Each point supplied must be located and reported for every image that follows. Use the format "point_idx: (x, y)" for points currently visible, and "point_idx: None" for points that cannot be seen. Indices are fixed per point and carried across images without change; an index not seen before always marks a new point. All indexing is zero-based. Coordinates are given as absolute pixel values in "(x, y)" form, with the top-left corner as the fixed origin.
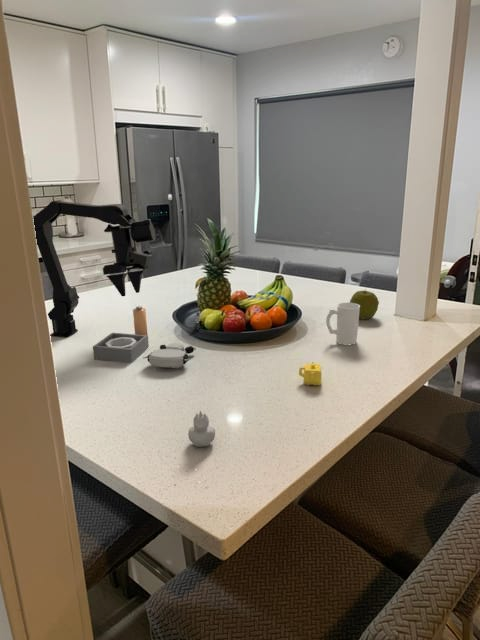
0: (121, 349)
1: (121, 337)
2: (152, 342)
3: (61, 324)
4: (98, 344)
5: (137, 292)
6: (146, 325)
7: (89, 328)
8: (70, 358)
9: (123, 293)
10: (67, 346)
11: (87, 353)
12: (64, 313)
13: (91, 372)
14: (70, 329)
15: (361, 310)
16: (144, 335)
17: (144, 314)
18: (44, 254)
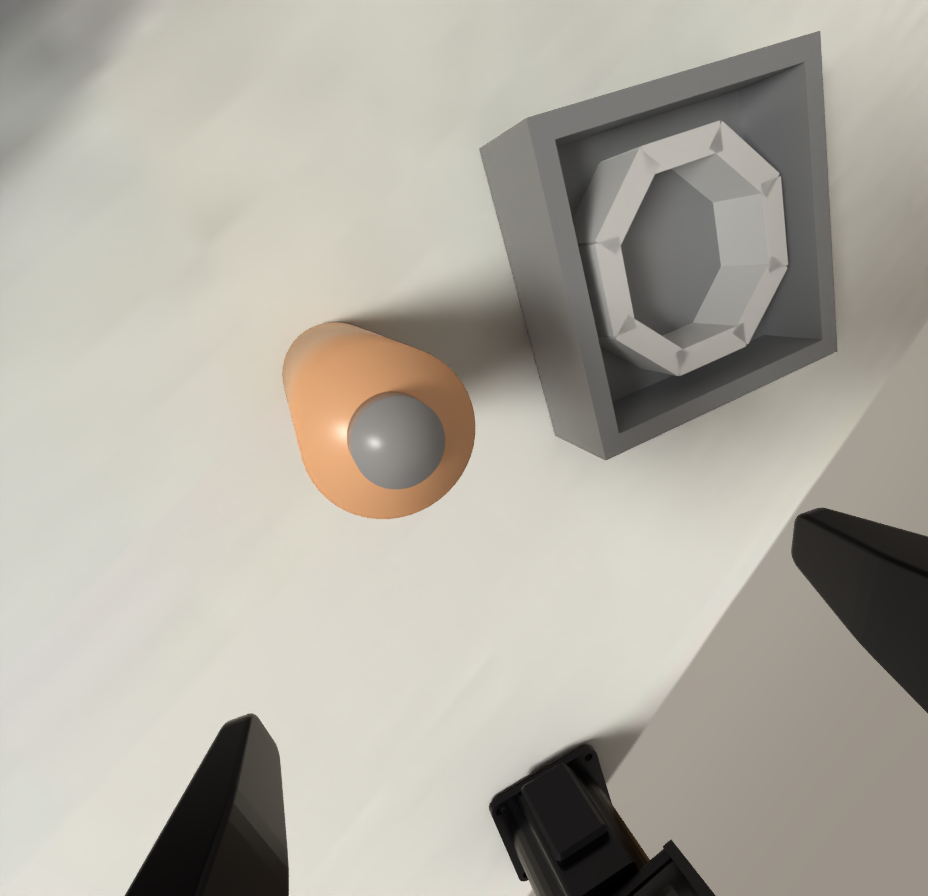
0: (822, 121)
1: (623, 336)
2: (376, 199)
3: (632, 835)
4: (801, 349)
5: (265, 731)
6: (324, 335)
7: (415, 802)
8: (784, 462)
9: (875, 535)
10: (678, 620)
11: (712, 447)
12: (702, 879)
13: (881, 212)
14: (580, 785)
15: None
16: (544, 148)
17: (372, 340)
18: None
